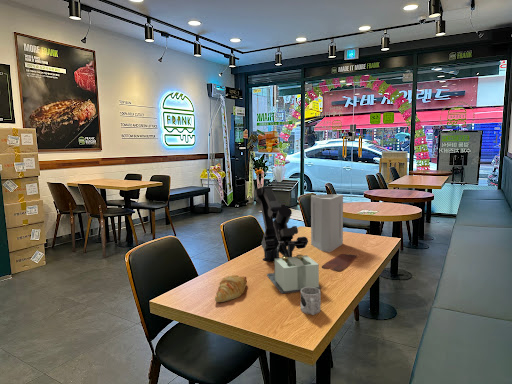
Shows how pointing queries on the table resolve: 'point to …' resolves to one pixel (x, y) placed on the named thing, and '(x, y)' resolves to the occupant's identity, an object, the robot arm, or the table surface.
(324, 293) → the table surface
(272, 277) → the base plate
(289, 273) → the two-slot toaster
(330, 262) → the wooden tablet
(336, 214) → the paper bag
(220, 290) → the croissant
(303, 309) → the mug
